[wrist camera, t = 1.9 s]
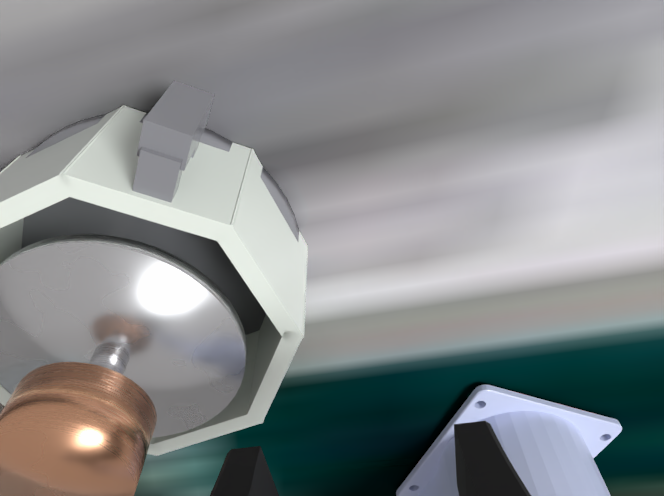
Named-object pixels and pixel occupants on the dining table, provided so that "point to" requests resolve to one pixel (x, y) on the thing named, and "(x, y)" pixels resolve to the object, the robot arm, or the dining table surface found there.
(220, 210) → the octagonal hollow frame
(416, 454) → the dining table surface
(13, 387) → the copper-knobbed silver dome
